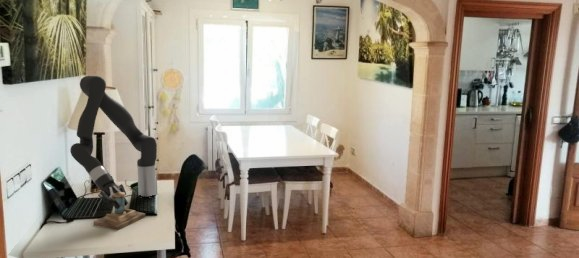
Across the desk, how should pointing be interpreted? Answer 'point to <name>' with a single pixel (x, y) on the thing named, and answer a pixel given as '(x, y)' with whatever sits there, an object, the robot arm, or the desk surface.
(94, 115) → the robot arm
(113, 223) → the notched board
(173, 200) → the desk surface
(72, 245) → the desk surface
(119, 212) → the bobbin
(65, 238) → the desk surface
